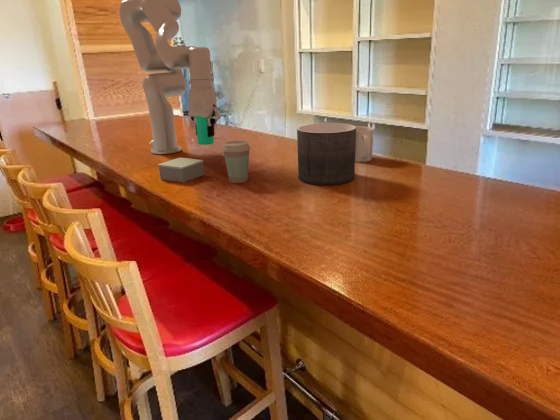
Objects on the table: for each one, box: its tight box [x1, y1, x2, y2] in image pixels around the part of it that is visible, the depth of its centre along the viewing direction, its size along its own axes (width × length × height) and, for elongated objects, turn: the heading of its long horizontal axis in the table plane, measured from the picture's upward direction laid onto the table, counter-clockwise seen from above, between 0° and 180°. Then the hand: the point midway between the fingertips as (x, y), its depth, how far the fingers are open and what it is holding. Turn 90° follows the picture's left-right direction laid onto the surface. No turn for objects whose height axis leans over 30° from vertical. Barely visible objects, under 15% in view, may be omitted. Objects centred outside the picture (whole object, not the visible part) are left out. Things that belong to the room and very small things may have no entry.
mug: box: [355, 126, 374, 163], centre depth 152 cm, size 10×12×11 cm
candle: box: [195, 115, 215, 146], centre depth 155 cm, size 6×6×12 cm
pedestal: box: [157, 157, 205, 184], centre depth 139 cm, size 10×10×5 cm
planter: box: [296, 122, 357, 186], centre depth 130 cm, size 18×18×16 cm
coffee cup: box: [222, 140, 251, 184], centre depth 131 cm, size 8×9×12 cm
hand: (205, 135), depth 156 cm, fingers closed on candle, 4 cm apart
